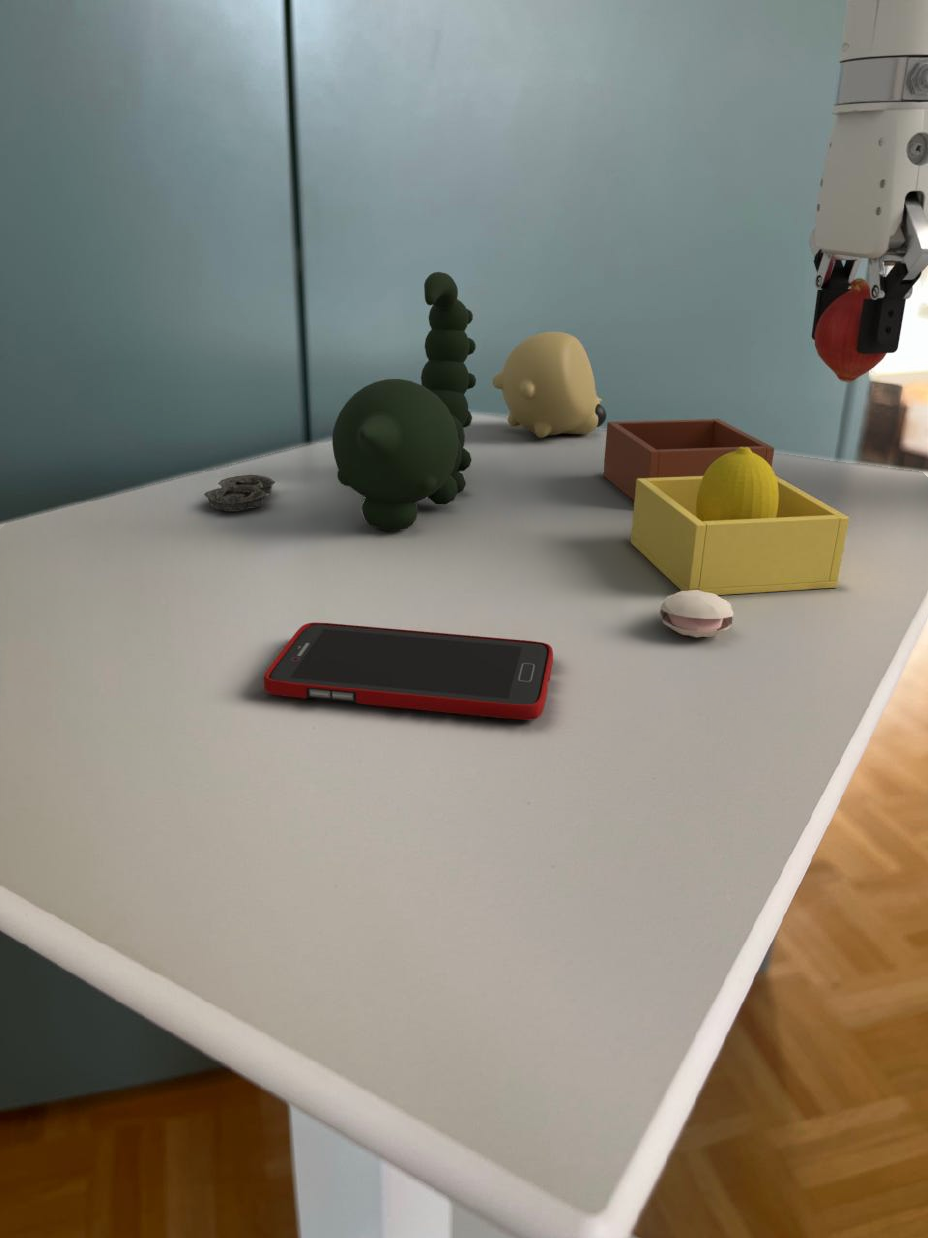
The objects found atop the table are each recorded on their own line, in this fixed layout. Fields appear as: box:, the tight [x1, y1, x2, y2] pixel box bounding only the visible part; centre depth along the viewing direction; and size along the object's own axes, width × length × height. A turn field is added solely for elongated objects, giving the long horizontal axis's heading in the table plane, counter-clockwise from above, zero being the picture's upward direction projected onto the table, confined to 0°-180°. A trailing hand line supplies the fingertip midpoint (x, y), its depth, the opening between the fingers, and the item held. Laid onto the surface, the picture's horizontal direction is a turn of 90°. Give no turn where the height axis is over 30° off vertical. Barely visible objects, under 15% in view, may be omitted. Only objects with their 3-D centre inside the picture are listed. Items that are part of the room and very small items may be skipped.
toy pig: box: [492, 331, 607, 439], centre depth 105 cm, size 10×12×11 cm
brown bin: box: [603, 418, 775, 502], centre depth 87 cm, size 11×11×5 cm
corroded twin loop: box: [204, 474, 276, 512], centre depth 83 cm, size 5×8×1 cm, turn 175°
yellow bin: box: [630, 475, 850, 596], centre depth 71 cm, size 11×11×5 cm
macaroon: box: [659, 590, 734, 639], centre depth 61 cm, size 4×5×2 cm
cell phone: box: [263, 622, 554, 721], centre depth 54 cm, size 8×15×1 cm, turn 81°
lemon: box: [696, 447, 779, 522], centre depth 70 cm, size 6×6×8 cm
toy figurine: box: [331, 271, 477, 532], centre depth 79 cm, size 9×19×25 cm
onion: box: [814, 277, 888, 383], centre depth 79 cm, size 6×6×8 cm
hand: (852, 343), depth 80 cm, fingers closed on onion, 5 cm apart
